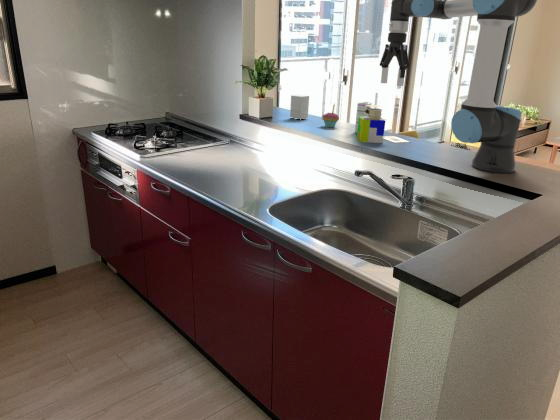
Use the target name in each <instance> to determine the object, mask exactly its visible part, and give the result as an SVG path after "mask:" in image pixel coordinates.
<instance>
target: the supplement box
mask: <svg viewBox="0 0 560 420" xmlns="http://www.w3.org/2000/svg"><path fill="white" fill-rule="evenodd" d="M309 105H310V95H306V94H305V95H304V94H292V95H290V110H289V113H290V114H289V118H290V117H293V118H297V119H300V120H299V121H302V120H301V119H306V118H308V119H309V107H310V106H309ZM306 120H307V119H306Z"/></svg>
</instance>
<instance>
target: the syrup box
mask: <svg viewBox="0 0 560 420" xmlns="http://www.w3.org/2000/svg"><path fill="white" fill-rule="evenodd" d="M365 105H372V102H369V101H359V102H358V103H357V108H356V114H355V115H356V117H355V126H354V127H355V129H354V133H357V131H358V122H359V116H368V117H369V115H368V114H364V113H365V110H366V109H365V108H367V107H368V108H372V107H370V106H365Z"/></svg>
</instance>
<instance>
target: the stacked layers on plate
mask: <svg viewBox="0 0 560 420" xmlns="http://www.w3.org/2000/svg"><path fill="white" fill-rule="evenodd" d="M365 106H370V107H371V108H368V107H367V108H365V109H366V110H365V113H364V114H368V115H369V117H360V118H363V119H365V120H385V121H386V119H385V118H383V117H382V115H383V113H382V112H383V109H381V108H383V106H381V105H375V104H371V105H365Z"/></svg>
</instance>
